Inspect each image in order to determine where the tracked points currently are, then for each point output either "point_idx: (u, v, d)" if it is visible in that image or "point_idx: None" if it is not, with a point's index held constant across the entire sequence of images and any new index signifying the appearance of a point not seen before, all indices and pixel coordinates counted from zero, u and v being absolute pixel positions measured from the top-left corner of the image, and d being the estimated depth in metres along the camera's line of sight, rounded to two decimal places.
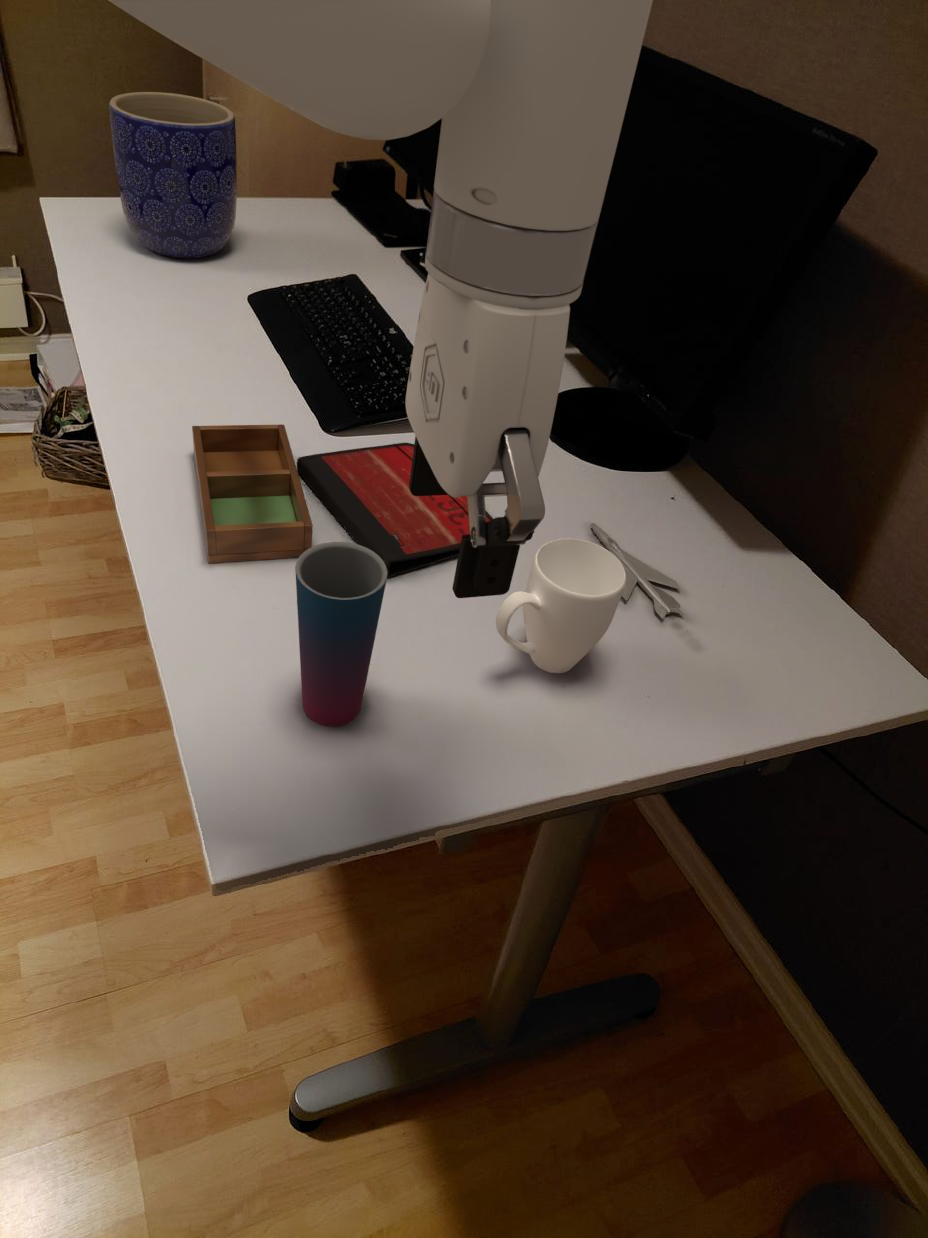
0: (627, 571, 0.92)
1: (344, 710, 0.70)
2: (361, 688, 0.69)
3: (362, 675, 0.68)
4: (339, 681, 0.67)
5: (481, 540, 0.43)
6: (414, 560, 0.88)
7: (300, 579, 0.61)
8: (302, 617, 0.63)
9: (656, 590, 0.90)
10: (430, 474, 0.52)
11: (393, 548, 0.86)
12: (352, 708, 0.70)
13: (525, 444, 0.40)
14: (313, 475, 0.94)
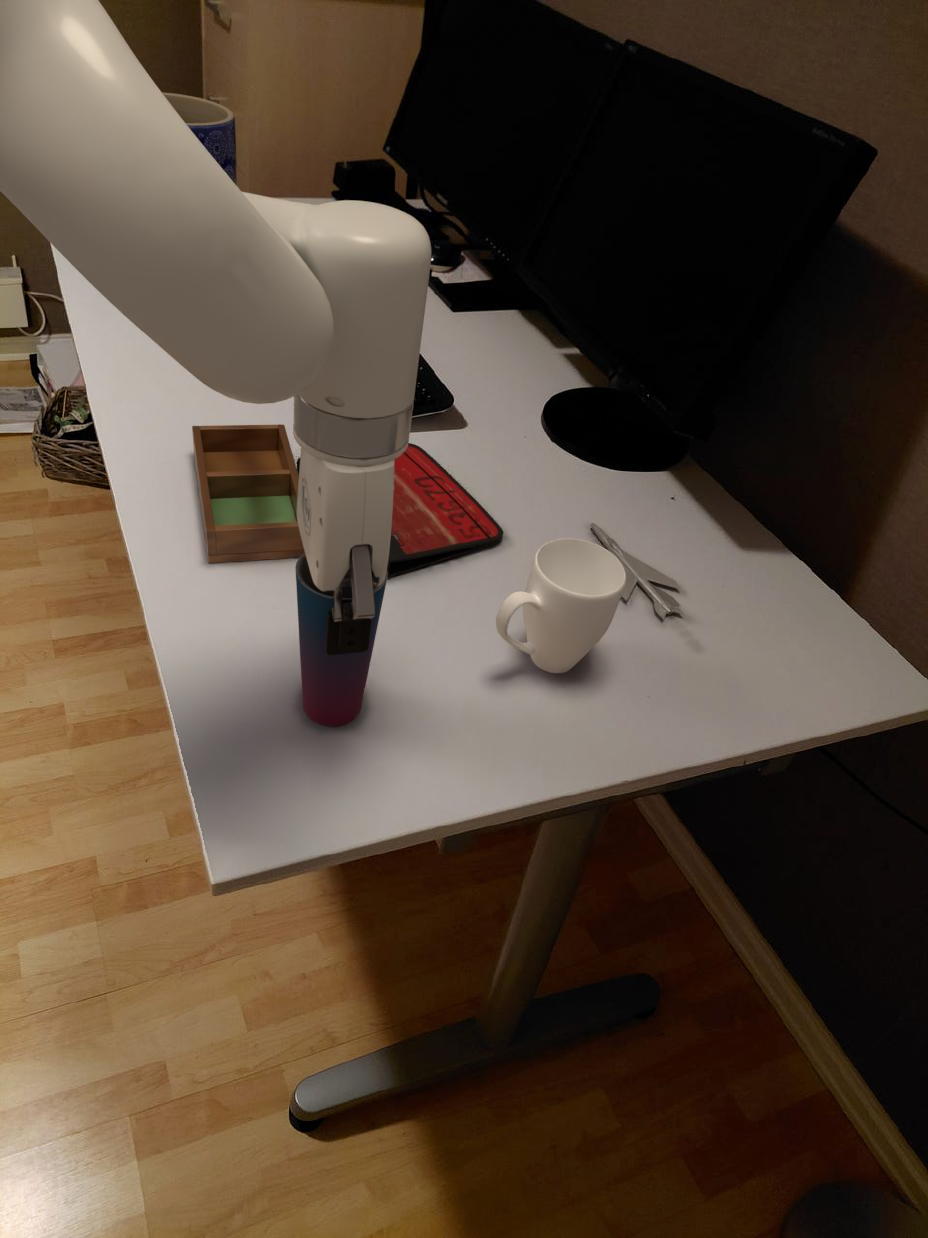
0: (627, 571, 0.92)
1: (344, 710, 0.70)
2: (361, 688, 0.69)
3: (362, 675, 0.68)
4: (339, 681, 0.67)
5: (338, 617, 0.59)
6: (414, 560, 0.88)
7: (300, 579, 0.61)
8: (302, 617, 0.63)
9: (656, 590, 0.90)
10: None
11: (393, 548, 0.86)
12: (352, 708, 0.70)
13: (366, 561, 0.56)
14: None
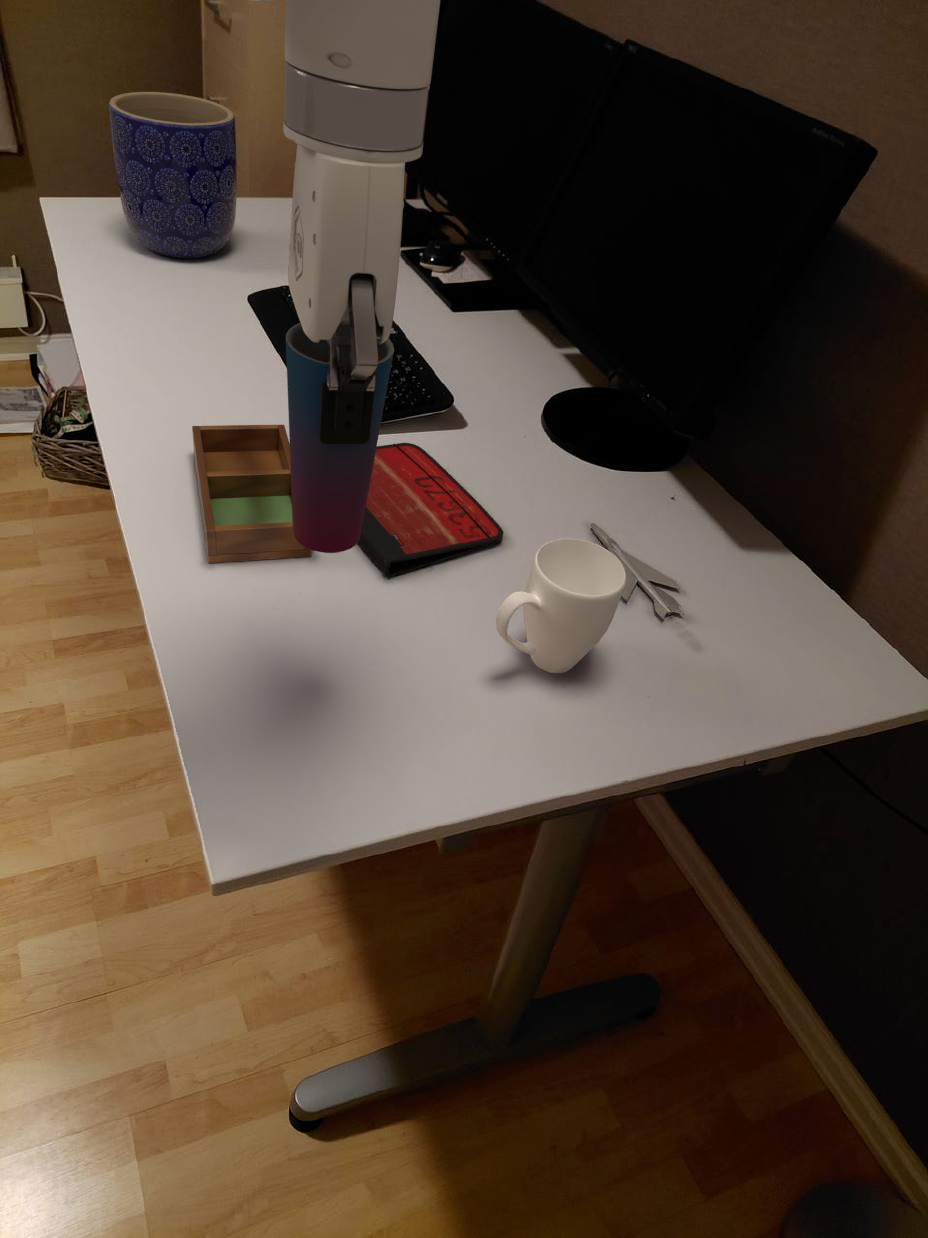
0: (627, 571, 0.92)
1: (341, 531, 0.60)
2: (361, 505, 0.60)
3: (362, 486, 0.59)
4: (335, 488, 0.57)
5: (334, 383, 0.50)
6: (414, 560, 0.88)
7: (291, 345, 0.52)
8: (293, 400, 0.54)
9: (656, 590, 0.90)
10: None
11: (393, 548, 0.86)
12: (350, 531, 0.61)
13: (369, 298, 0.46)
14: None
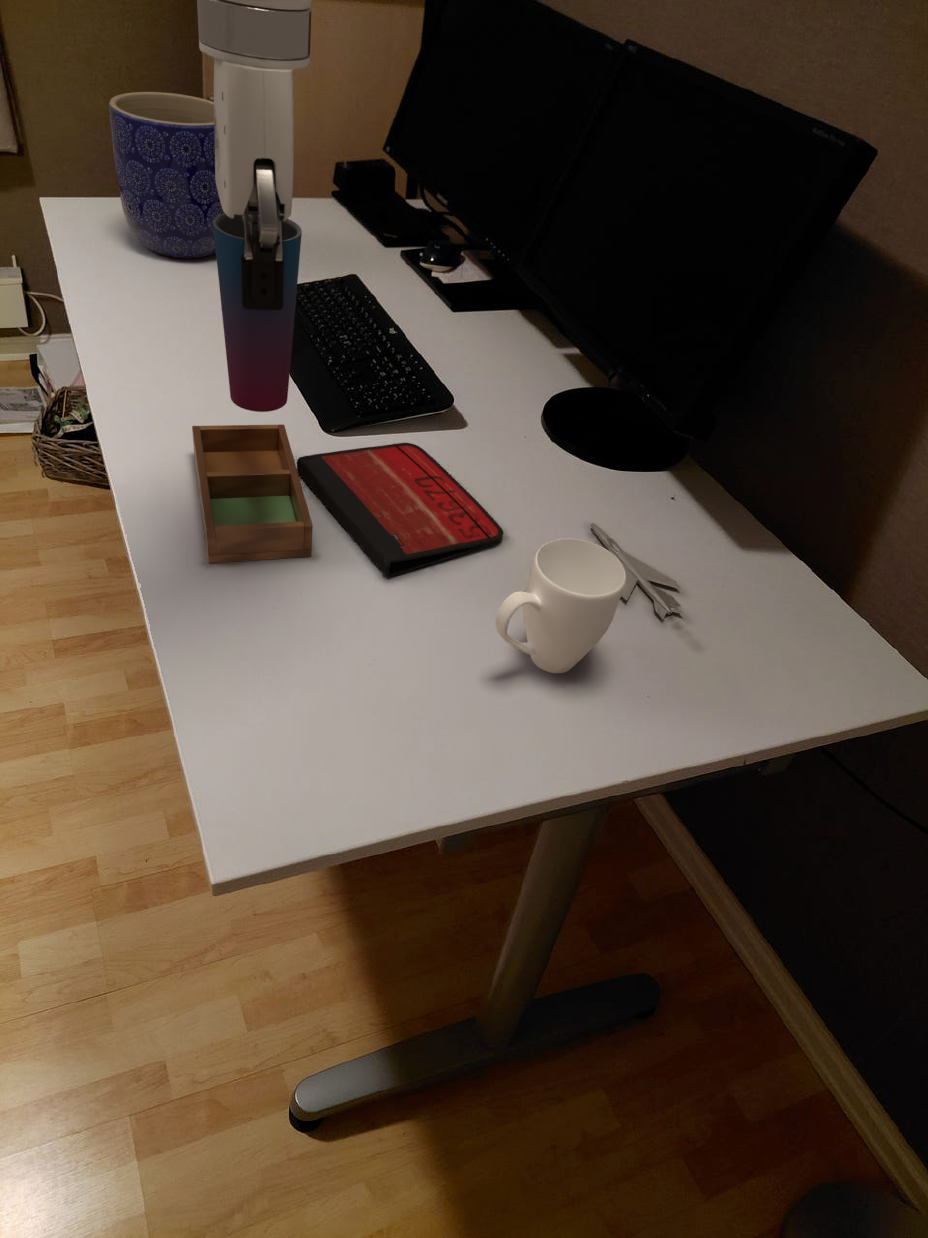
0: (627, 571, 0.92)
1: (268, 392, 0.74)
2: (283, 370, 0.73)
3: (283, 351, 0.72)
4: (260, 351, 0.71)
5: (248, 252, 0.63)
6: (414, 560, 0.88)
7: (216, 226, 0.65)
8: (221, 274, 0.67)
9: (656, 590, 0.90)
10: None
11: (393, 548, 0.86)
12: (276, 392, 0.74)
13: (270, 178, 0.60)
14: (313, 475, 0.94)
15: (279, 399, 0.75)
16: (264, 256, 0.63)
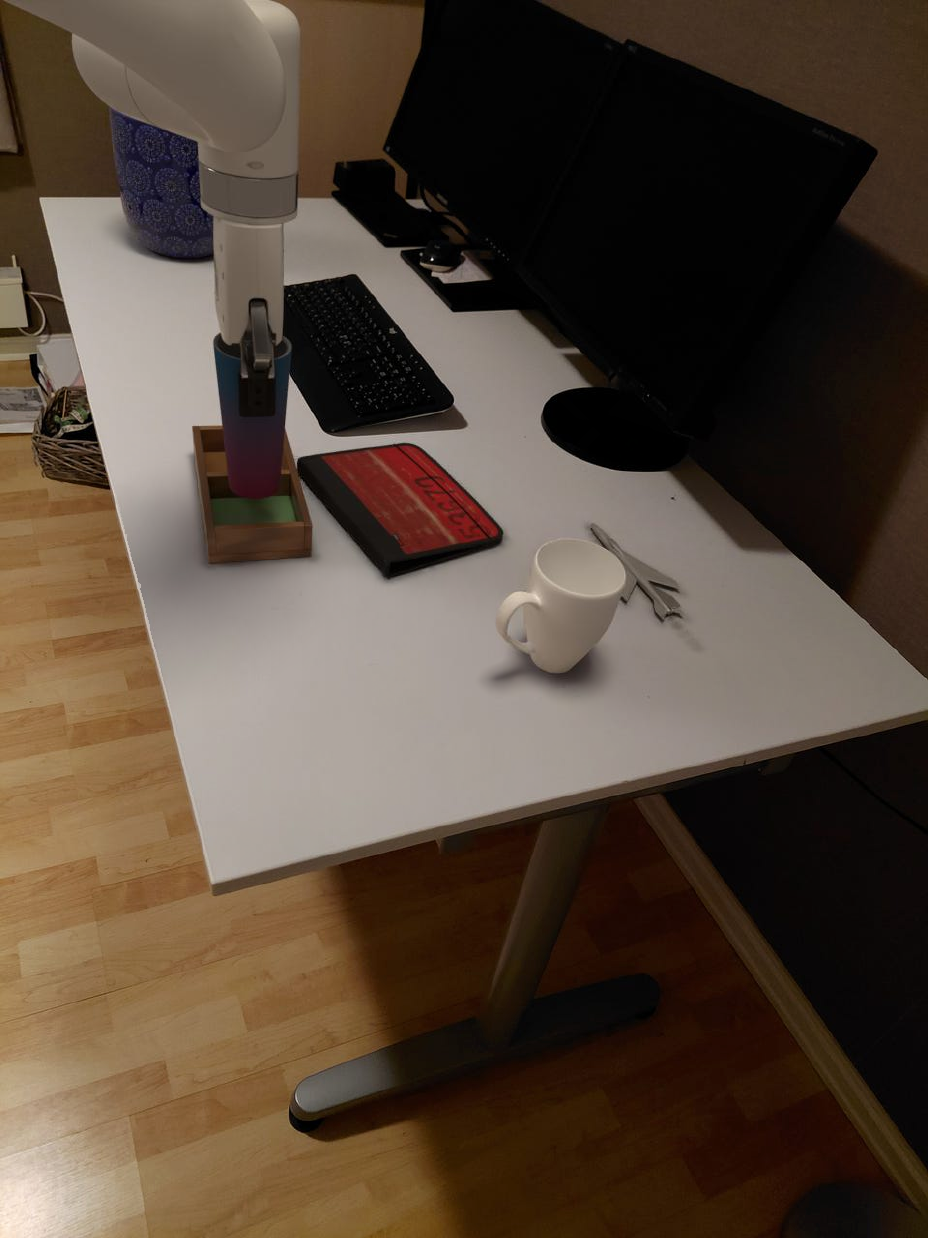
0: (627, 571, 0.92)
1: (262, 482, 0.82)
2: (276, 463, 0.82)
3: (276, 448, 0.80)
4: (255, 449, 0.79)
5: (244, 373, 0.72)
6: (414, 560, 0.88)
7: (216, 347, 0.74)
8: (220, 385, 0.76)
9: (656, 590, 0.90)
10: None
11: (393, 548, 0.86)
12: (269, 482, 0.83)
13: (263, 314, 0.68)
14: (313, 475, 0.94)
15: (272, 487, 0.83)
16: (258, 375, 0.72)
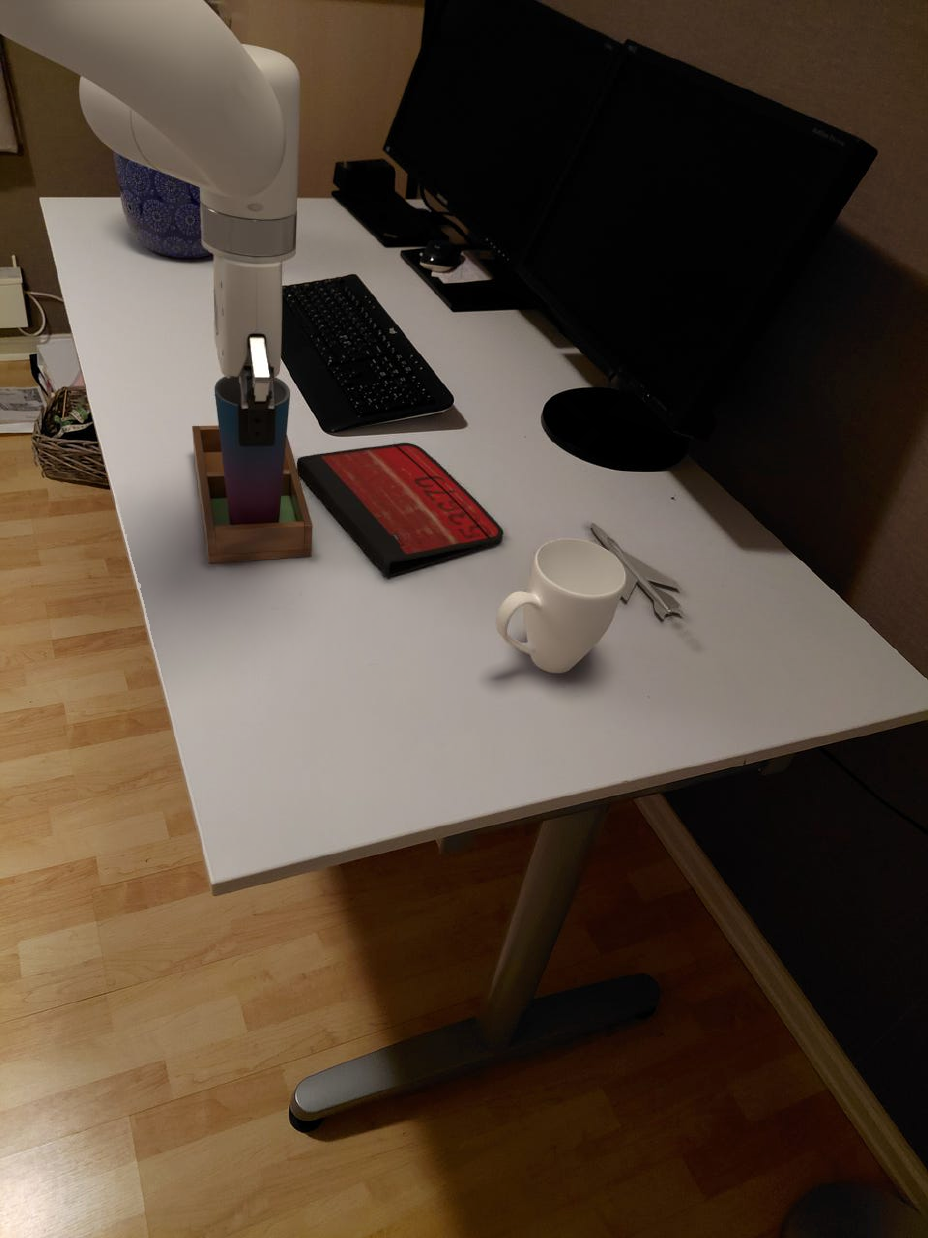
0: (627, 571, 0.92)
1: (262, 519, 0.85)
2: (275, 501, 0.85)
3: (275, 487, 0.83)
4: (255, 489, 0.82)
5: (244, 403, 0.72)
6: (414, 560, 0.88)
7: (217, 393, 0.76)
8: (221, 429, 0.79)
9: (656, 590, 0.90)
10: None
11: (393, 548, 0.86)
12: (269, 519, 0.86)
13: (262, 343, 0.69)
14: (313, 475, 0.94)
15: None
16: (258, 406, 0.72)
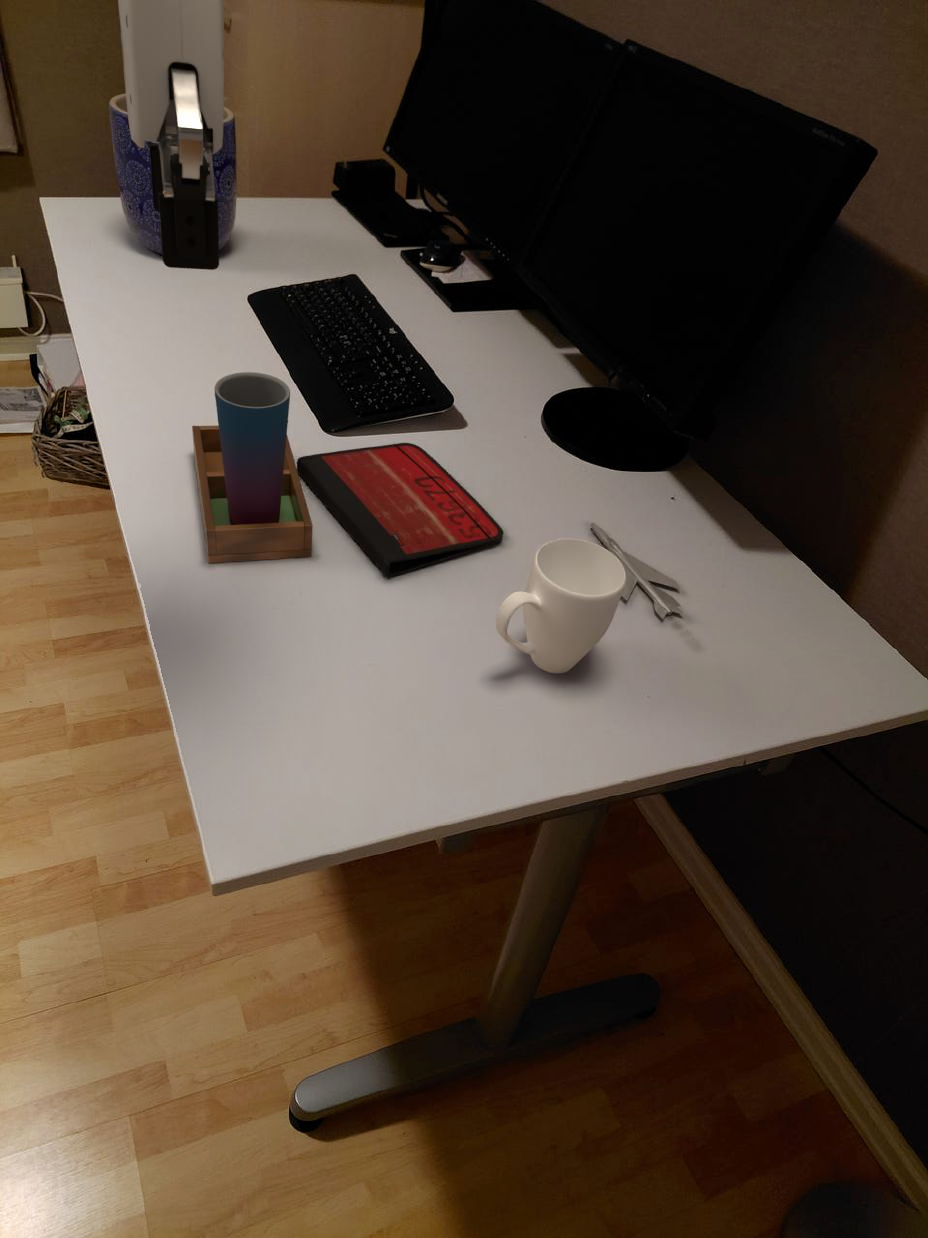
0: (627, 571, 0.92)
1: (262, 519, 0.85)
2: (275, 501, 0.85)
3: (275, 487, 0.83)
4: (255, 489, 0.82)
5: (167, 187, 0.46)
6: (414, 560, 0.88)
7: (217, 393, 0.76)
8: (221, 429, 0.79)
9: (656, 590, 0.90)
10: None
11: (393, 548, 0.86)
12: (269, 519, 0.86)
13: (191, 79, 0.44)
14: (313, 475, 0.94)
15: None
16: (189, 192, 0.47)
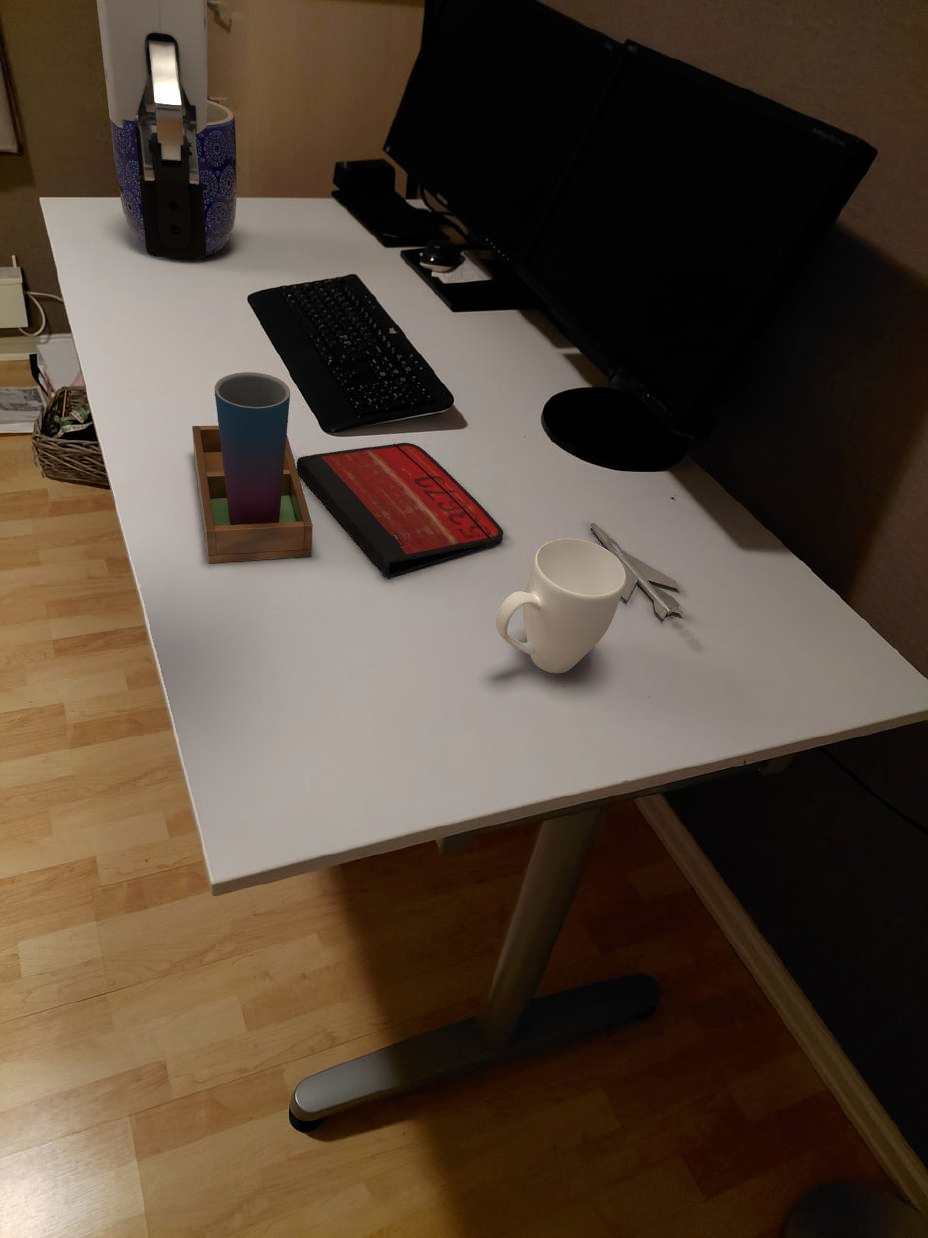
0: (627, 571, 0.92)
1: (262, 519, 0.85)
2: (275, 501, 0.85)
3: (275, 487, 0.83)
4: (255, 489, 0.82)
5: (148, 169, 0.43)
6: (414, 560, 0.88)
7: (217, 393, 0.76)
8: (221, 429, 0.79)
9: (656, 590, 0.90)
10: None
11: (393, 548, 0.86)
12: (269, 519, 0.86)
13: (170, 51, 0.41)
14: (313, 475, 0.94)
15: None
16: (171, 175, 0.43)
